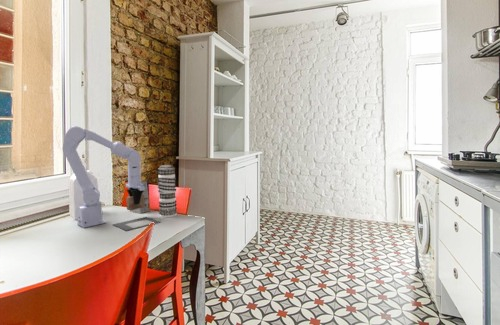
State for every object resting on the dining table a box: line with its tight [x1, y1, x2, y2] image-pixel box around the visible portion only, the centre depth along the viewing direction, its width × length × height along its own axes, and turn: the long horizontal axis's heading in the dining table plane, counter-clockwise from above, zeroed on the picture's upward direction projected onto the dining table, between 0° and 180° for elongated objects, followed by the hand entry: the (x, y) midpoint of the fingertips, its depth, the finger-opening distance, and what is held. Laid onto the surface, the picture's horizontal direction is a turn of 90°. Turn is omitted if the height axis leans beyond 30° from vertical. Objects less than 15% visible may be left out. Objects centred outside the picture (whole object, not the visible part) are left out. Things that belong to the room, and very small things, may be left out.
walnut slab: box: [125, 195, 145, 211], centre depth 141 cm, size 8×2×6 cm, turn 138°
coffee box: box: [128, 179, 151, 214], centre depth 155 cm, size 9×6×16 cm
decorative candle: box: [156, 164, 178, 218], centre depth 145 cm, size 9×9×25 cm
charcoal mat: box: [112, 216, 161, 232], centre depth 132 cm, size 16×13×1 cm
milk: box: [68, 163, 99, 221], centre depth 147 cm, size 12×12×26 cm
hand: (135, 203), depth 141 cm, fingers closed on walnut slab, 2 cm apart
